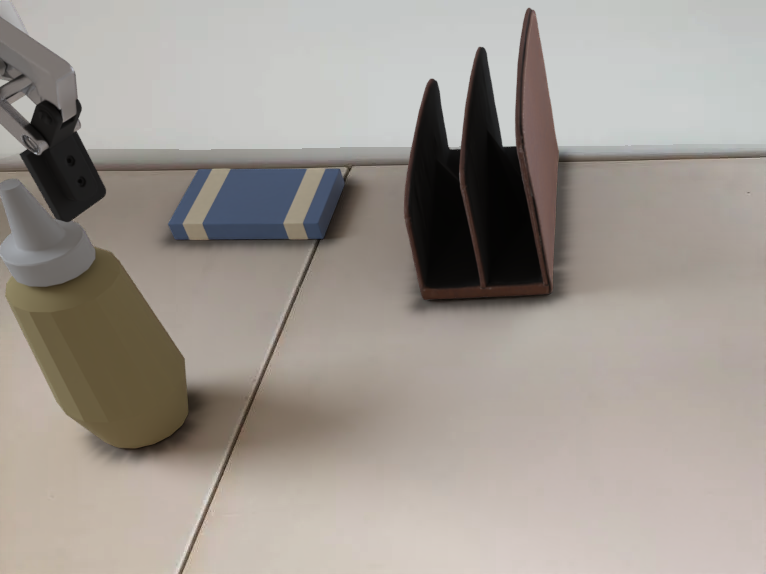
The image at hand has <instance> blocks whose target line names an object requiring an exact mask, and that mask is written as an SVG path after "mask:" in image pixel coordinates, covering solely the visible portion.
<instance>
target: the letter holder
mask: <svg viewBox="0 0 766 574" xmlns="http://www.w3.org/2000/svg"><path fill="white" fill-rule="evenodd" d="M542 46H543V45H542V41H541V35H540V30H539V23H538V18H537V13H536V11H535V9H532V8H531V7H527V8H526V10H525V12H524V17H523V19H522V27H521V31H520V39H519V46H518V56H517V63H516V64H517V65H516V66H517V67H516V87H515V105H514V106H515V107H514V136H515V137H514V138H515V145H513V146H504V145H503V139H502V132H501V128H500V121H499V116H498V110H497V107H496V100H495V93H494V88H493V87H494V86H493V82H492V77H491V76H492V75H491V70H490V66H489V59H488V52H487V50H486V48H485V47H484V46H478V47H477V49H476V51H475V55H474V58H473V62H472V66H471V69H470V70H471V71H470V76H469V82H468V87H467V92H466V93H467V94H466V99H465V104H464V112H463V113H464V114H463V122H462V130H461V131H462V133H461V141H460V148H455V149H452V148H450V146H449V140H448V134H447V129H446V123H445V118H444V112H443V106H442V98H441V91H440V86H439V83H438V81H437V80H436V79H435V78H429V80H427V82H426V84H425V87H424V91H423V94H422V98H421V102H420V105H419V109H418V113H417V120H416V123H415V128H414V133H413V138H412V142H411V147H410V152H409V159H408V163H407V170H406V178H405V184H404V194H403V195H404V197H403V219H404V224H405V228H406V232H407V237H408V242H409V246H410V251H411V256H412V261H413V264H414V270H415V273H416V278H417V282H418V287H419V291H420V296H421V299H422V300H423V301H429V300H430V301H432V300H435V301H436V300H457V299H478V298H480V299H481V298H497V297H498V298H500V297H520V296H523V297H524V296H541V295H542V296H546V295H550V294H552V293H553V291H554V261H555V260H554V259H555V242H556V241H555V240H556V221H557V220H556V218H557V217H556V215H557V194H558V193H557V192H558V173H559V172H558V171H559V159H560V150H559V143H558V139H557V135H556V127H555V120H554V114H553V107H552V101H551V96H550V89H549V83H548V76H547V71H546V70H547V69H546V64H545V58H544V52H543V47H542Z"/></svg>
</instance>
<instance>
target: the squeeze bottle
mask: <svg viewBox="0 0 766 574" xmlns="http://www.w3.org/2000/svg"><path fill="white" fill-rule="evenodd" d="M0 199H1V203H2V206H3V209H4V212H5V215H6V219H7V222H8V225H9V228H10V231H11V233H9V234H8V235H7V236H6V237H5V238H4V239H3V241H2V242H1V244H0V259H1V260H2V262H3V263H4V265H5V267H6V268H7V270H8V271H9V273H10V275H11V276H10V277H9V278H8V281H6V283H5V291H4V292H5V293H4V298H5V299H6V301H7V303H8V305H9V307H10V309H11V311H12V313H13V315H14V317H15V320H16V322H17V324H18V326H19V328H20V330H21V333H22V334H23V336H24V338H25V339H26V342H27V344H28V346H29V348H30V350H31V353H32V354H33V357H34V359H35V361H36V362H37V365H38V367H39V369H40V371H41V373H42V375H43V377H44V379H45V381H46V384H47V385H48V387H49V389H50V392H51V394H52V395H53V397H54V399H55V402H56V403H57V404H58V406H59V407H60V409H61V410H62V411H63V413H64V414H65V415H66V416H67V417H69V418H70V419H71V420H73V421H74V422H76V423H77V424H79V425H80V426H81V427H83V428H84V429H86V430H87V431H88V432H90V433H91V434H92V435H94V436H95V437H97V438H98V439H99V440H101V441H102V442H104V443H105V444H108V445H110V446H112V447H115V448H118V449H138V448H142V447H146V446H152V445H155V444H156V443H159V442H161V441H163V440H164V439H167V438H168V437H171V436H172V435H173V434H174V433H175V432H176V431H178V429H180V428H181V427H182V426H183V424H184V423H185V421H186V419H187V417H188V416H189V414H190V413H189V401H188V387H187V384H188V383H187V371H186V358H185V356H184V355H183V353H182V352H181V350H180V349H179V347H178V346H177V345H176V343H175V342H174V340H173V338H172V337H171V335H170V334H169V332H168V331H167V330H166V328H165V327H164V325H163V324H162V322H161V320H160V319H159V318H158V317H157V315H156V313H155V312H154V310H153V308H152V307H151V306H150V304H149V303H148V301H147V299H146V298H145V297H144V295H143V294H142V292H141V290H140V289H139V288H138V286H137V285H136V283H135V282H134V280H133V278H132V277H131V275H130V274H129V273H128V271H127V269H126V268H125V267H124V265H123V264H122V262H121V261H120V259H119V258H118V257H117V256H116V255H115V254H114V253H113V252H112V251H109V250H106V249H103V248H100V247H98V246H94V245H93V242H92V241H91V239H90V237H89V235H88V233H87V232H86V229H85V228H84V227H83V226H82V225H81V224H80V223H79V222H77V221H73V220H72V221H70V222H64V221H60V220H57V219H56V218H54V217H53V216H52V215H51V214H50V212H48V210H47V209H45V207H44V206H43V205H42V204H41V203H40V201H39V200H38V199H37V198H36V197H35V196H34V194H32V193H31V191H30V190H29V189H28V188H27V187H26V186H25V185H24V184H23V182H22V181H21V180H20V179H18V178H7V179H5V180H2V181H0Z"/></svg>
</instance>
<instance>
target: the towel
mask: <svg viewBox="0 0 766 574" xmlns="http://www.w3.org/2000/svg"><path fill="white" fill-rule="evenodd" d="M345 184H346V183H345V179H344V176H343V173H342V170H341V168H340V167H339V168H335V167H334V168H326V167H308V168H198V169H197V171H196V173H195V174H194V176H193V178H192V179H191V182H190V183H189V185H188V186H187V188H186V190H185V192H184V194H183V195H182V198H181V199H180V201H179V203H178V205H177V207H176V208H175V210H174V212H173V213H172V215H171V217H170V220H169V221H168V223H167V225H168V227H169V231H170V232H171V234H172V237H173V238H174V240H181V241H182V240H189V241H209V240H323V239H324V238H325V236H326V234H327V231H328V227H329V225H330V222H331V219H332V218H333V215H334V212H335V210H336V208H337V205H338V203H339V200H340V197H341V194H342V192H343V190H344V187H345Z"/></svg>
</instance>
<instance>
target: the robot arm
mask: <svg viewBox="0 0 766 574" xmlns="http://www.w3.org/2000/svg"><path fill="white" fill-rule="evenodd" d="M0 80H2V81H7V82H6V83H4V84H2V85H1V86H0V125H1V126H2V127H3V128H4V129H5V130H6V131H7V132H8V133H9V134H10V135H11V136H12V137H13V138H15V139H16V140H17V141H18V143H20V144H21V145H22V146H23V147H24V148H25V149H24V150H23V151H22V152H20V153H19V156H20V159H21V160H22V162H23V164H24V165H25V167H26V168H27V170H28V173H29V174H30V176H31V179H33V181H34V183H35V185H36V187H37V189H38V191H39V193H40V194H41V196H42V197H43V200H44V201H45V203H46V205H47V206H48V208H49V210H50V211H51V214H52V215H53V218H54V219H57V220H60V221H64V222H70V221H73V220H75V219H76V218H77V217H79V216H80V215H81V214H83V213H84V212H86V211H87V210H88V209H90V208H92V206H94V205H96V204H97V203H98V202H99V201H101V200H102V199H104V198H105V197H106V194H107V188H106V186H105V184H104V182H103V180H102V177H101V176H100V175H99V172H98V170H97V169H96V166H95V164H94V162H93V160H92V158H91V156H90V154H89V152H88V150H87V148H86V146H85V144H84V141H83V140H82V139H81V137H80V135H79V133H78V131H79V130H80V129H82V123H81V120H80V116H81V113H82V111H83V106H82V103H81V101H80V100H79V99H78V98H79V97H78V86H77V84H78V83H77V75H76V71H75V69H74V67H73V66H72V65H71V64H70V63H69V62H68V61H67V60H66V59H64V58H63V57H62V56H59V54H57V53H55V52H54V51H52V50H51V49H49V48H48V47H46V45H44V44H42V43H40V42H38V40H36V39H35V38H33V37H31V36H30V34H29V31H28V30H27V28H26V25H25V23H24V21H23V19H22V18H21V16H20V14H19V12H18V11H17V9H16V7H15V5H14V2H13V1H12V0H0ZM25 96H26V97H27V99H29V100H30V101H31V102H32V103H33V104H34V105H35V107H34V110H33V114H32V116H31V119H30V121H29V120H27V119H26V118H25V117H24V116H23V115H22V113H20V112H19V111H18V110H17V109H16V108H15V107H14V106H13V105H12V104H13V103H15V102H17V101H18V100H20V99H22V98H24V97H25Z"/></svg>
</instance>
